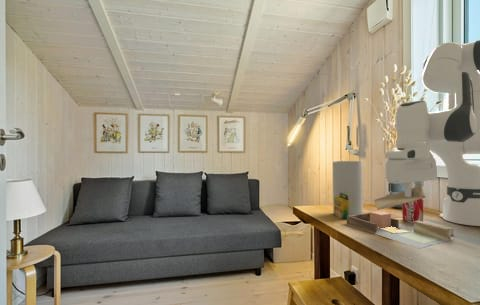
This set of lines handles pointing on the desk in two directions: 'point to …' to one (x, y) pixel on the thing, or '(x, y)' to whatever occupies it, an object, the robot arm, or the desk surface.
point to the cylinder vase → (348, 184)
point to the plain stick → (432, 230)
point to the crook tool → (399, 198)
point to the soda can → (412, 211)
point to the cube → (380, 219)
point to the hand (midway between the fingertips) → (413, 195)
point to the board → (410, 237)
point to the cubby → (363, 223)
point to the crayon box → (341, 207)
